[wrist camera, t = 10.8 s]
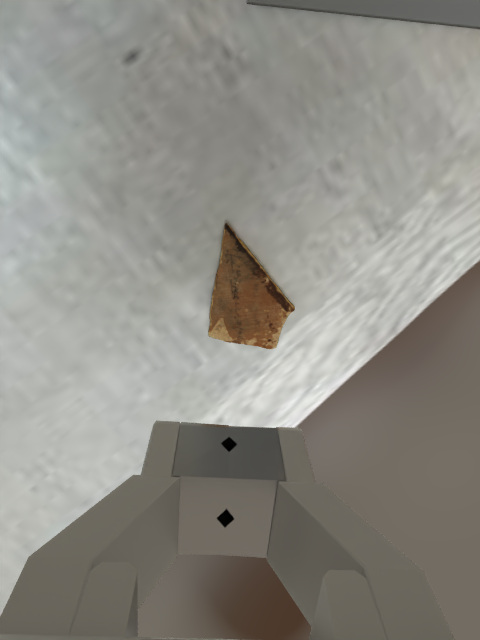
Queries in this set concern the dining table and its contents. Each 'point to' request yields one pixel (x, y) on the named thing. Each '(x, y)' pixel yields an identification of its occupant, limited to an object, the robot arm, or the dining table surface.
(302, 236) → the dining table surface
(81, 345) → the dining table surface
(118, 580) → the robot arm
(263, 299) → the shard
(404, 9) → the rubber mat
